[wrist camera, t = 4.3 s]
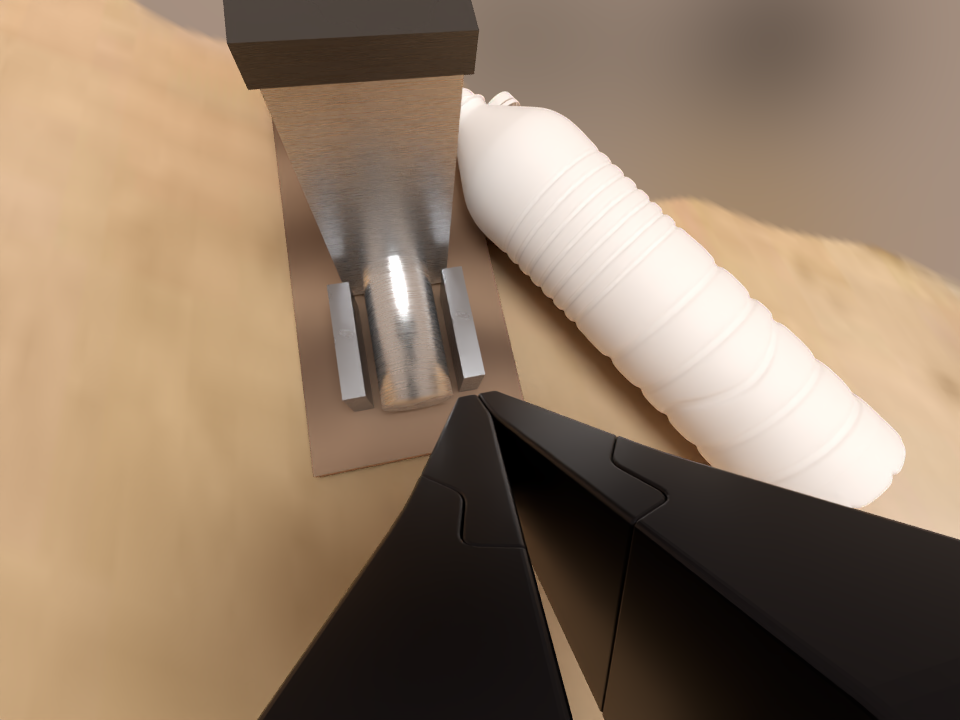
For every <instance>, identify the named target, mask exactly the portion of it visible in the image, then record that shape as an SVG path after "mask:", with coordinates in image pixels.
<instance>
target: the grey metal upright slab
mask: <svg viewBox="0 0 960 720" xmlns="http://www.w3.org/2000/svg"><path fill="white" fill-rule="evenodd" d="M223 5H224V16H225V27H226V36H227V37H226V38H227V44H228V47H229V49H230V51H231V53H232V55H233V58H234V60H235V62H236V64H237V66H238V69H239V71H240V73H241V75H242V77H243V80H244V82H245V84H246V86H247V88H248V90H252V89H260V91H261V93H262V95H263V98H264V100H265V103H266V105H267V107H268V110H269V112H270V114H271V117H272V119H273V121H274V124H275V126H276V128H277V131H278V133H279V135H280V138H281V140H282V142H283V145H284V147H285V150H286V152H287V154H288V157H289V159H290V161H291V164H292V166H293V168H294V171H295V173H296V175H297V178H298V180H299V182H300V185H301V187H302V189H303V192H304V194H305V196H306V199H307V201H308V204H309V206H310V208H311V211H312V213H313V215H314V218H315V220H316V222H317V225H318V227H319V229H320V232H321V234H322V236H323V239H324V241H325V243H326V246H327V248H328V251H329V253H330V255H331V258H332V260H333V262H334V265H335V267H336V269H337V272H338V274H339V276H340V279H341V281H342V283H345V282H349V284H350V287H351V290H352V292H353V295H359V294H364V296H365V303H366V309H367V315H368V322H369V328H370V334H371V341H372V347H373V353H374V360H375V366H376V372H377V379H378V385H379V391H380V398H381V404H382V410H384V411H391V412H394V411H407V410H414V409H419V408H424V407H429V406H432V405H436V404H439V403H442V402H445V401H447V400H449V399H451V398H452V397H453V392H452V387H451V382H450V377H449V372H448V367H447V362H446V357H445V352H444V347H443V342H442V337H441V332H440V327H439V321H438V316H437V311H436V306H435V301H434V296H433V291H432V286H431V284H435V283H441V269H445V268H447V259H448V248H449V237H450V225H451V214H452V202H453V191H454V180H455V168H456V157H457V146H458V134H459V123H460V111H461V100H462V89H463V77H464V75H468V74H469V75H470V74H474V69H475V61H476V51H477V43H478V34H479V29H478V25H477V21H476V17H475V13H474V10H473V6H472V2H471V0H223Z"/></svg>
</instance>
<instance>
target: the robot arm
mask: <svg viewBox="0 0 960 720" xmlns="http://www.w3.org/2000/svg"><path fill="white" fill-rule="evenodd" d="M531 563H532V564H531ZM532 565H533V567H534V570H535V572H536V574H537V576H538V578H539V580H540V582H541V585H542V587H543V589H544V591H545V593H546V595H547V597H548V600H549V602H550V604H551V606H552V608H553V610H554V612H555V615H556V617H557V619H558V621H559V623H560V625H561V628H562V630H563V632H564V634H565V636H566V638H567V640H568V643H569V645H570V647H571V649H572V651H573V653H574V655H575V658H576V660H577V662H578V664H579V666H580V668H581V670H582V673H583V675H584V677H585V679H586V681H587V683H588V685H589V688H590V690H591V692H592V694H593V696H594V698H595V701H596V703H597V705H598V707H599V709H600V711H601V712H603V718H604V720H960V540H959V539H956V538H952V537H949V536H945V535H942V534H939V533H935V532H932V531H928V530H925V529H922V528H918V527H915V526H911V525H908V524H905V523H901V522H898V521H894V520H891V519H888V518H884V517H881V516H877V515H874V514H871V513H867V512H864V511H861V510H857V509H854V508H850V507H847V506H844V505H840V504H837V503H833V502H830V501H827V500H823V499H820V498H816V497H813V496H810V495H806V494H803V493H799V492H796V491H793V490H789V489H786V488H783V487H779V486H776V485H772V484H769V483H766V482H762V481H759V480H755V479H752V478H749V477H745V476H742V475H738V474H735V473H732V472H728V471H725V470H721V469H718V468H715V467H711V466H708V465H704V464H701V463H698V462H694V461H691V460H688V459H685V458H681V457H678V456H675V455H672V454H668V453H665V452H662V451H659V450H656V449H653V448H651V447H648V446H645V445H642V444H639V443H636V442H634V441H631V440H628V439H626V438H623V437H620V436H618V437H616V436H615V435H613V434H610V433H608V432H605V431H602V430H600V429H597V428H594V427H592V426H589V425H586V424H584V423H581V422H578V421H576V420H573V419H570V418H568V417H565V416H562V415H560V414H557V413H554V412H552V411H549V410H546V409H544V408H541V407H538V406H536V405H533V404H530V403H528V402H525V401H522V400H520V399H517V398H514V397H512V396H509V395H506V394H504V393H501V392H498V391H490V392H484V393H480V394H479V395H478V396H477V395H475V394H473V395H468V396H462V397H459V398H458V399H457V401H456V403H455V405H454V407H453V409H452V411H451V413H450V415H449V417H448V420H447V422H446V424H445V426H444V428H443V430H442V432H441V434H440V436H439V438H438V441H437V443H436V445H435V447H434V449H433V451H432V453H431V455H430V457H429V459H428V462H427V464H426V466H425V468H424V470H423V472H422V474H421V476H420V478H419V479H418V481H417V483H416V485H415V488H414V490H413V492H412V494H411V495H410V497H409V499H408V501H407V503H406V505H405V506H404V508H403V510H402V511H401V513H400V515H399V516H398V518H397V519H396V521H395V522H394V524H393V525H392V527H391V528H390V530H389V531H388V533H387V534H386V536H385V537H384V539H383V540H382V541H381V543H380V544H379V546H378V547H377V549H376V550H375V552H374V553H373V554H372V556H371V557H370V559H369V560H368V562H367V563H366V564H365V566H364V567H363V569H362V570H361V572H360V573H359V575H358V576H357V577H356V579H355V580H354V582H353V583H352V585H351V586H350V587H349V589H348V590H347V592H346V593H345V595H344V596H343V597H342V599H341V600H340V602H339V603H338V605H337V606H336V608H335V609H334V610H333V612H332V613H331V615H330V616H329V618H328V619H327V620H326V622H325V623H324V625H323V626H322V628H321V629H320V630H319V632H318V633H317V635H316V636H315V638H314V639H313V641H312V642H311V643H310V645H309V646H308V648H307V649H306V651H305V652H304V653H303V655H302V656H301V658H300V659H299V661H298V662H297V664H296V665H295V666H294V668H293V669H292V671H291V672H290V674H289V675H288V676H287V678H286V679H285V681H284V682H283V684H282V685H281V686H280V688H279V689H278V691H277V692H276V694H275V695H274V697H273V698H272V699H271V701H270V702H269V704H268V705H267V707H266V708H265V709H264V711H263V712H262V714H261V715H260V717H259V718H258V720H573V718H572V714H571V710H570V706H569V703H568V699H567V695H566V691H565V688H564V684H563V680H562V676H561V673H560V669H559V665H558V661H557V658H556V654H555V650H554V646H553V643H552V639H551V635H550V631H549V628H548V624H547V620H546V616H545V612H544V609H543V605H542V601H541V597H540V594H539V590H538V586H537V582H536V579H535V575H534V571H533V567H532Z"/></svg>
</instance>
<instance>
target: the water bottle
mask: <svg viewBox="0 0 960 720" xmlns="http://www.w3.org/2000/svg"><path fill="white" fill-rule="evenodd" d="M457 159H458V165H459V171H460V177H461V182H462V188H463V193H464V198H465V202H466V206H467V208H468V211H469V213H470V215H471V217H472V218H473V220H474V222H475V223H476V225H477V226H478V227H479V229H480V230H481V231H482V232H483V233H484V234H485V235H486V236H487V237H488V238H489V239H490V240H491V241H492V242H493V243H494V244H496V245H497V246H498V247H499V248H500V249H501V250H502V251H503V252H505V253H507V254H508V256H509V258H510V259H511V261H512V262H514V263H515V264H519V268H520V269H521V271H522V272H523V273H524V274H526V275H529V276H530V278H531V281H532V282H533V283H534V284H535V285H536V286H538V287H541V288H542V292H543V293H544V294H545V295H546V296H547V297H548V298H552V299H553V303H554V304H555V305H556V306H557V307H558V308H559V309H560V310H564V312H565V315H566V317H567V318H568V319H569V320H571V321H574V322H575V323H576V326H577V327H578V329H579V330H580V331H581V332H582V333H583V334H584V335H585V336H586V338H587V339H588V340H589V341H590V342H591V343H592V344H593V345H594V346H595V347H596V348H597V349H598V350H599V351H600V352H601V353H602V354H603V355H605V356H609V357H610V358H611V359H612V363H613V364H614V366H615V367H616V368H617V369H618V371H619V372H620V373H621V374H622V375H623V376H624V377H625V378H626V379H627V380H628V381H629V382H631V383H632V384H633V385H635V386H637V387H639V388H640V389H641V390H642V394H643V395H644V397H645V398H646V399H647V400H648V401H649V402H650V403H651V404H652V405H653V406H654V407H655V408H656V409H657V410H658V411H659V412H661V413H664V414H666V415H667V416H668V419H669V422H670V423H671V424H672V426H673V427H674V428H675V429H676V430H677V431H678V432H679V433H680V434H681V435H682V436H683V437H684V438H685V439H687V440H688V441H689V442H691V443H692V444H694V445H696V446H697V450H698V451H699V453H700V454H701V455H702V456H703V457H704V458H705V460H706V461H707V462H708V463H709V464H710V465H711V466H712V467H715V468H718V469H721V470H725V471H728V472H732V473H735V474H738V475H742V476H745V477H749V478H752V479H755V480H759V481H762V482H766V483H769V484H772V485H776V486H779V487H783V488H786V489H789V490H793V491H796V492H799V493H803V494H806V495H810V496H813V497H816V498H820V499H823V500H827V501H830V502H833V503H837V504H840V505H844V506H847V507H850V508H862V507H865V506H867V505H868V504H870V503H871V502H873V501H874V500H875V499H877V498H878V497H879V496H880V495H881V494H882V493H883V492H885V491H886V490H887V489H888V487H889V486H890V485H891V483H892V479H893V478H892V475H896V474H898V473H899V472H900V471H901V469H902V467H903V464H904V460H905V454H906V451H905V446H904V444H903V442H902V439H901V437H900V435H899V434H898V433H897V432H896V431H895V429H894V428H893V427H891V426H890V425H889V424H888V423H887V422H886V421H885V420H884V419H883V418H882V417H881V416H880V415H879V414H878V413H877V412H876V411H875V410H874V409H873V408H872V407H870V406H869V405H868V404H867V403H866V402H865V401H864V400H863V399H861V398H860V397H859V396H857V395H856V394H854V393H852V392H851V390H850V389H849V387H848V386H847V385H846V384H845V382H844V381H843V380H842V379H841V378H840V377H839V376H838V375H837V374H836V373H835V372H833V371H832V370H831V369H830V368H829V367H828V366H827V365H825V364H824V363H823V362H821V361H819V360H818V359H816V358H814V355H813V354H812V352H811V351H810V350H809V348H808V347H807V346H806V345H805V344H804V343H803V342H802V341H801V340H800V339H799V338H798V337H797V336H796V335H795V334H794V333H793V332H791V331H790V330H789V329H788V328H787V327H786V326H784V325H783V324H781V323H778V322H776V321H774V320H773V318H772V314H771V312H770V311H769V310H768V309H767V308H766V307H765V306H764V305H763V304H762V303H761V302H759V301H758V300H755V299H752V298H750V296H749V293H748V291H747V290H746V288H745V287H744V286H743V285H742V284H741V283H740V282H739V281H738V280H737V279H736V278H735V277H734V276H733V275H732V274H731V273H729V272H728V271H727V270H726V269H724V268H722V267H719V266H717V265H716V264H715V262H714V258H713V257H712V256H711V254H710V253H709V252H708V251H707V250H706V249H705V248H704V247H703V246H702V245H701V244H700V243H698V242H697V241H696V240H695V239H694V238H692V237H691V236H690V235H689V234H688V233H687V232H686V231H685V230H683V229H682V228H680V227H676V225H675V221H674V220H673V219H672V218H671V217H670V216H669V215H664V214H663V213H662V209H661V208H660V207H659V206H658V205H657V204H656V203H655V202H650V201H649V197H648V195H647V194H646V193H645V192H644V191H642V190H640V189H637V188H636V184H635V183H634V182H633V181H632V180H631V179H630V178H628V177H624V174H623V172H622V170H621V169H620V168H619V167H617V166H616V165H613V164H612V163H611V161H610V159H609V158H608V157H607V156H606V155H605V154H603V153H601V152H599V151H598V148H597V147H596V146H595V145H594V143H592V142H591V140H590V139H589V138H587V136H586V135H585V134H584V133H583V132H582V131H581V130H580V129H579V128H578V127H577V126H576V125H575V124H574V123H573V122H571V121H570V120H569V119H568V118H566V117H565V116H563V115H561V114H559V113H557V112H555V111H552V110H549V109H546V108H539V107H524V106H520V103H519V102H518V101H517V100H516V99H515V98H514V97H513V96H512V95H511V94H510V93H508V92H501V93H499V94H498V95H496V96H495V97H494V98H493V99H492V100H491V101H490V102H489V103H488V104H486V103H485V98H484V97H483V96H482V95H480V94H476V95H475V94H474V93H473V92H471V90H469V89H466V88H463V89H462V100H461V111H460V123H459V134H458V146H457Z"/></svg>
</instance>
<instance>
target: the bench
mask: <svg viewBox="0 0 960 720" xmlns="http://www.w3.org/2000/svg"><path fill="white" fill-rule="evenodd" d="M272 122H273V131H274V139H275V148H276V157H277V165H278V174H279V182H280V191H281V200H282V208H283V217H284V226H285V234H286V243H287V252H288V260H289V269H290V278H291V286H292V295H293V303H294V312H295V321H296V329H297V338H298V347H299V355H300V364H301V373H302V381H303V390H304V398H305V407H306V416H307V424H308V433H309V442H310V450H311V459H312V468H313V476H314V477H323V476H328V475H333V474H338V473H343V472H348V471H352V470H357V469H362V468H367V467H372V466H377V465H381V464H386V463H391V462H396V461H401V460H406V459H410V458H415V457H420V456H425V455H430V454H431V453H432V451H433V449H434V447H435V445H436V443H437V441H438V438H439V436H440V434H441V432H442V430H443V428H444V426H445V424H446V422H447V420H448V417H449V415H450V413H451V411H452V409H453V407H454V405H455V403H456V401H457V399H458V398H459V397H462V396H468V395H473V394H475V395H477V396H478V395H479V394H480V393H484V392H490V391H498V392H501V393H504V394H506V395H509V396H512V397H514V398H517V399H520V400H522V401H524V398H523V394H522V390H521V386H520V382H519V377H518V373H517V369H516V365H515V361H514V356H513V352H512V348H511V344H510V339H509V335H508V331H507V327H506V323H505V318H504V314H503V310H502V306H501V301H500V297H499V293H498V289H497V285H496V280H495V276H494V272H493V268H492V264H491V259H490V255H489V251H488V247H487V242H486V238H485V234H484V233H483V232H482V231H481V230H480V229H479V227H478V226H477V225H476V223H475V222H474V220H473V218H472V217H471V215H470V213H469V211H468V208H467V206H466V202H465V198H464V193H463V188H462V182H461V177H460V171H459V165H458V159H457V157H456V168H455V180H454V191H453V202H452V214H451V225H450V237H449V248H448V259H447V268H452V267H459V266H462V271H463V275H464V280H465V284H466V289H467V293H468V298H469V303H470V307H471V312H472V316H473V321H474V325H475V330H476V335H477V339H478V344H479V348H480V353H481V357H482V362H483V367H484V371H485V376H484V378H483V379H482V381H481V383H480V385H479V387H478V389H475V390H470V391H464V392H459V389H458V385H457V380H456V375H455V370H454V365H453V360H452V355H451V350H450V345H449V340H448V335H447V330H446V325H445V320H444V315H443V310H442V305H441V300H440V284H441V283H435V284H431V286H432V291H433V296H434V301H435V306H436V311H437V316H438V321H439V327H440V332H441V337H442V342H443V347H444V352H445V357H446V362H447V367H448V372H449V377H450V382H451V387H452V392H453V397H452V398H451V399H449V400H447V401H445V402H442V403H439V404H436V405H432V406H429V407H424V408H419V409H414V410H407V411H394V412H391V411H384V410H382V404H381V398H380V391H379V385H378V379H377V372H376V366H375V360H374V353H373V347H372V341H371V334H370V328H369V322H368V315H367V309H366V303H365V296H364V294H359V295H354V297H355V300H356V302H357V305H358V307H359V312H360V319H361V325H362V332H363V338H364V345H365V351H366V358H367V364H368V371H369V377H370V384H371V390H372V397H373V403H374V408H373V409H368V410H362V411H357V412H354V411H353V410H352V409H351V408H350V407H349V406H348V405H347V404H346V403H345V402H344V401H343V400H342V393H341V386H340V379H339V371H338V364H337V357H336V349H335V342H334V335H333V327H332V320H331V313H330V305H329V298H328V291H327V285H330V284H337V283H342V281H341V279H340V276H339V274H338V272H337V269H336V267H335V265H334V262H333V260H332V258H331V255H330V253H329V251H328V248H327V246H326V243H325V241H324V239H323V236H322V234H321V232H320V229H319V227H318V225H317V222H316V220H315V218H314V215H313V213H312V211H311V208H310V206H309V204H308V201H307V199H306V196H305V194H304V192H303V189H302V187H301V185H300V182H299V180H298V178H297V175H296V173H295V171H294V168H293V166H292V164H291V161H290V159H289V157H288V154H287V152H286V150H285V147H284V145H283V142H282V140H281V138H280V135H279V133H278V131H277V128H276V126H275V124H274V121H273V119H272Z"/></svg>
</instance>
